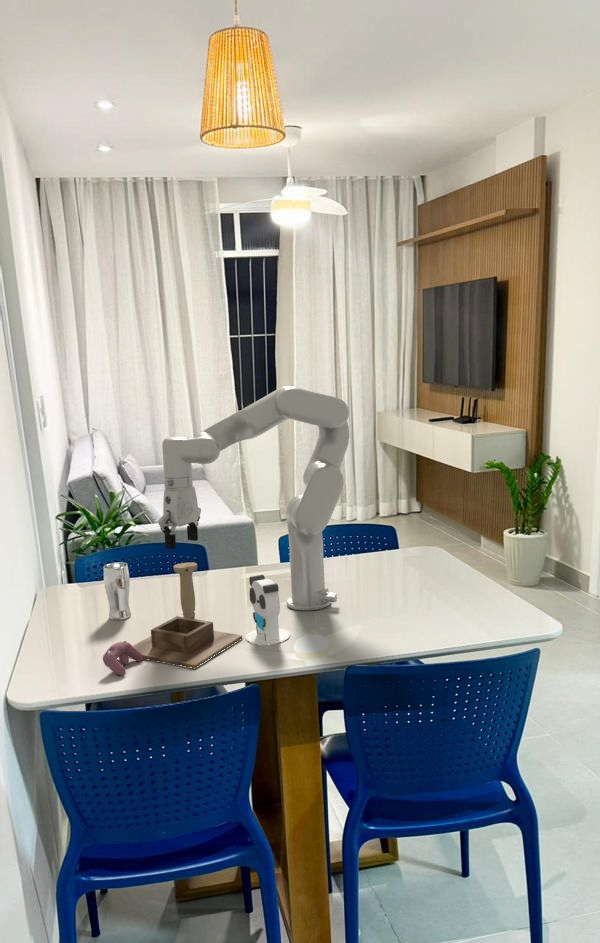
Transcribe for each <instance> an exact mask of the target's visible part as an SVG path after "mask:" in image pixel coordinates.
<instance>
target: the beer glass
mask: <svg viewBox="0 0 600 943" xmlns="http://www.w3.org/2000/svg"><path fill="white" fill-rule="evenodd" d="M130 583H131V582H130V573H129V567H128V563H126V562H120V561H119V562H117V561H116V562H111V563H106V564H105V565H104V566H103V584H104V589H105V594H106V597H107V600H108V601H107V602H108V604H109V612H108V619H109V620H111V621H124V620H127V619H129V618H130V617H131V616H132V612H131V609H130V605H129V604H130V603H129V597H130V588H131V587H130V585H131V584H130Z"/></svg>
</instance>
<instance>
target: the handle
mask: <svg viewBox="0 0 600 943" xmlns="http://www.w3.org/2000/svg"><path fill="white" fill-rule="evenodd" d="M197 569H198V563H197V562H192V561H191V562H182V563H177V564H174V565H173V571H174V572H175V573H177V574H178V575H179V583H180V584H179V587H180V588H179V591H180V593H179V595H180V606H181V611H182V617H185V618H191V619H194V618H195V616H196V612H195V611H196V595H195V588H194V587H195V586H194V578H193V572H195V571H197Z"/></svg>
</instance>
